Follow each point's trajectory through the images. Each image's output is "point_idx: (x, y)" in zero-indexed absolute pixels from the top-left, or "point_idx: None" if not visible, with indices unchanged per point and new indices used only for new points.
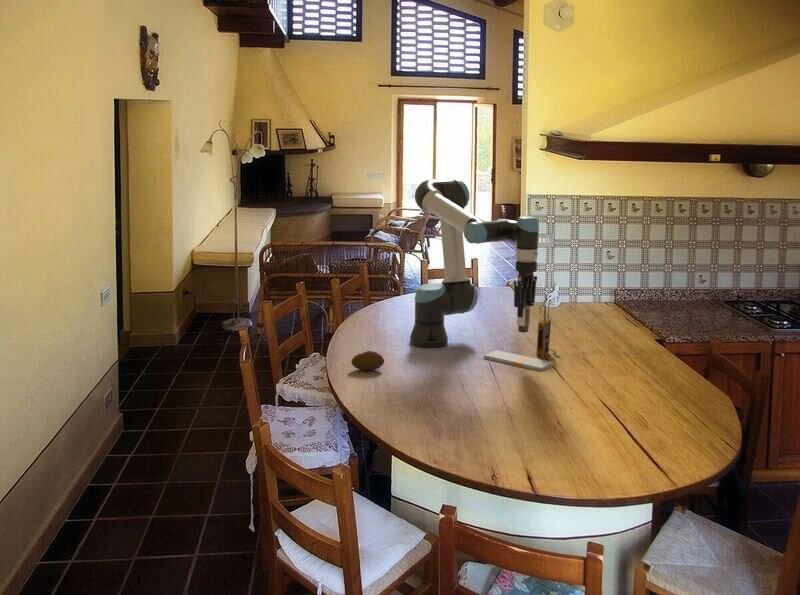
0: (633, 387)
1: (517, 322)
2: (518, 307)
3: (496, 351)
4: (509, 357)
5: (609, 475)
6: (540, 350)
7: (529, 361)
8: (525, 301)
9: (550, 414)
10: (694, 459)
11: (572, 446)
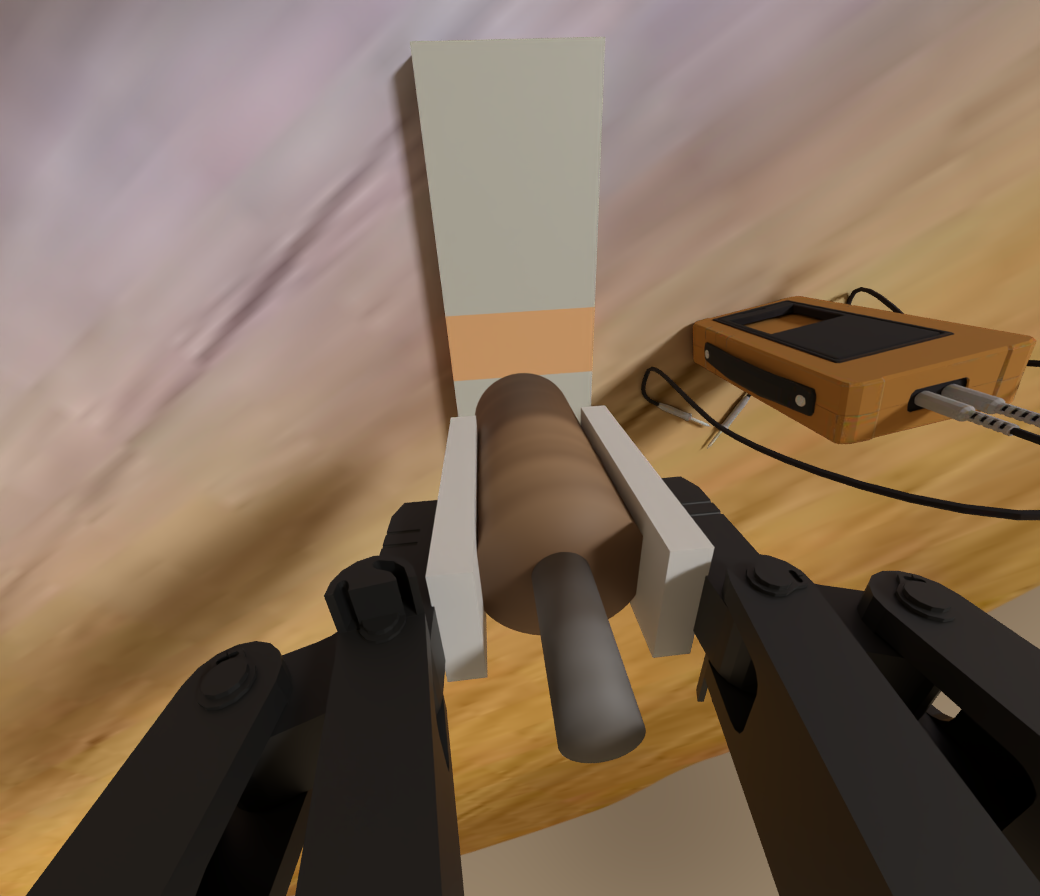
0: (536, 712)
1: (449, 435)
2: (333, 660)
3: (569, 66)
4: (502, 254)
5: (9, 873)
6: (704, 355)
7: None
8: (632, 738)
9: (117, 708)
10: None
11: (23, 808)
